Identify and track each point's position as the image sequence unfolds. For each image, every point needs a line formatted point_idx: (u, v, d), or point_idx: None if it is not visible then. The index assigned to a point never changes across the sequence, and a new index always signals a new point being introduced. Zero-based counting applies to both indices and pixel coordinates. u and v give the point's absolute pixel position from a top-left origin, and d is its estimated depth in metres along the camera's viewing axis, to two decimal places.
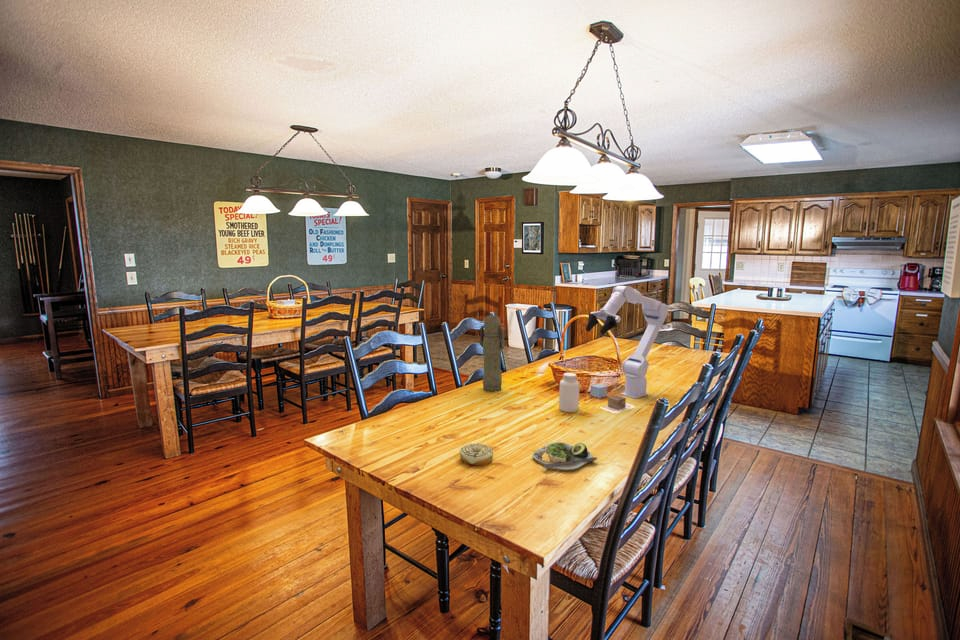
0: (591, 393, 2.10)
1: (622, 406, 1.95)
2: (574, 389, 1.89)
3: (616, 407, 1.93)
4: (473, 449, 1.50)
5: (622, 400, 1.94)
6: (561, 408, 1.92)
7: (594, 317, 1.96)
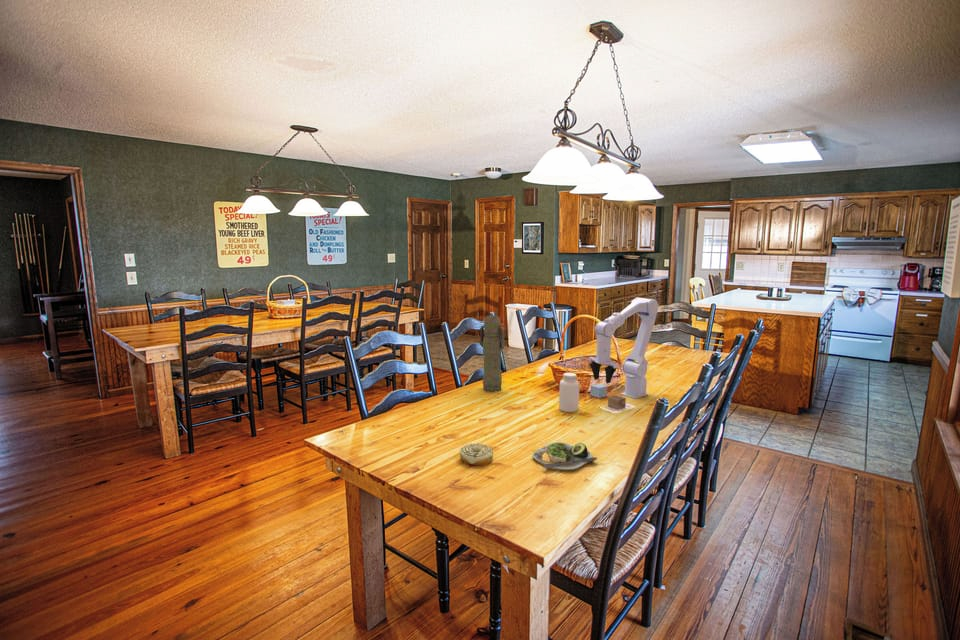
0: (591, 393, 2.10)
1: (622, 406, 1.95)
2: (574, 389, 1.89)
3: (616, 407, 1.93)
4: (473, 449, 1.50)
5: (622, 400, 1.94)
6: (561, 408, 1.92)
7: (595, 365, 2.02)
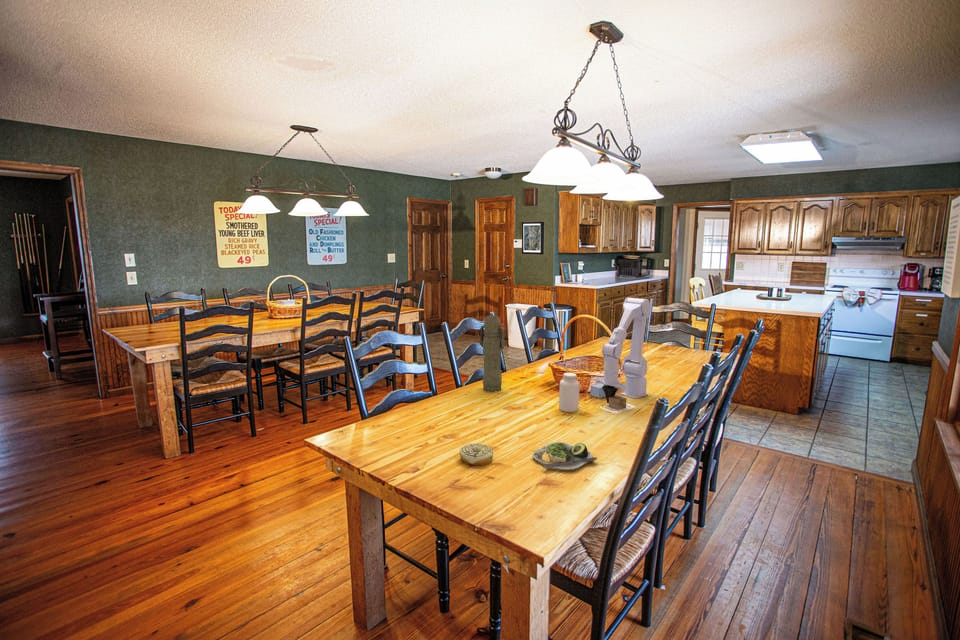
0: (591, 393, 2.10)
1: (623, 406, 1.94)
2: (574, 389, 1.89)
3: (617, 407, 1.93)
4: (473, 449, 1.50)
5: (623, 400, 1.94)
6: (561, 408, 1.92)
7: None
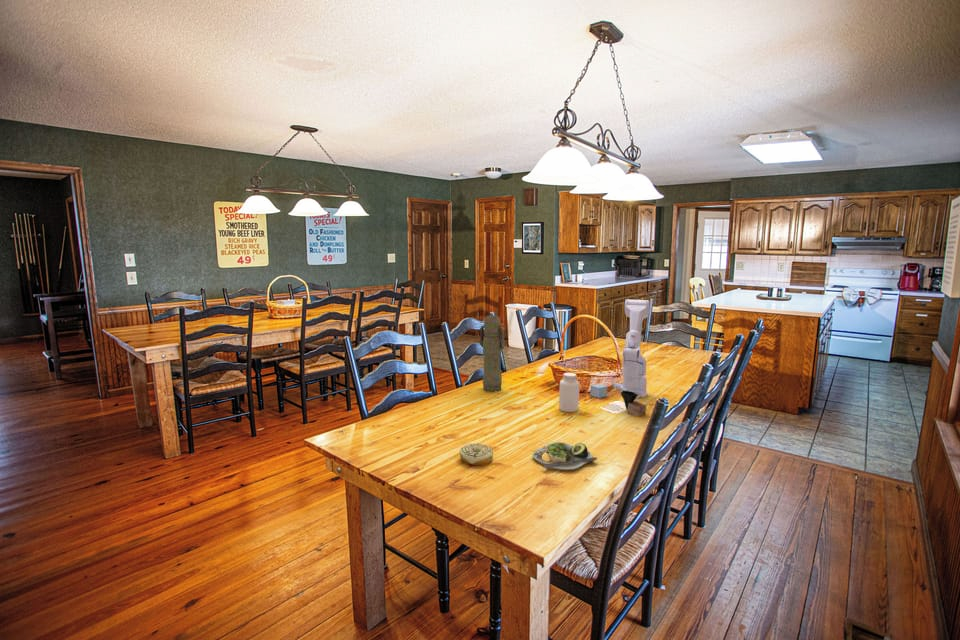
0: (591, 393, 2.10)
1: (642, 413, 1.87)
2: (574, 389, 1.89)
3: (636, 414, 1.85)
4: (473, 449, 1.50)
5: (643, 407, 1.86)
6: (561, 408, 1.92)
7: None
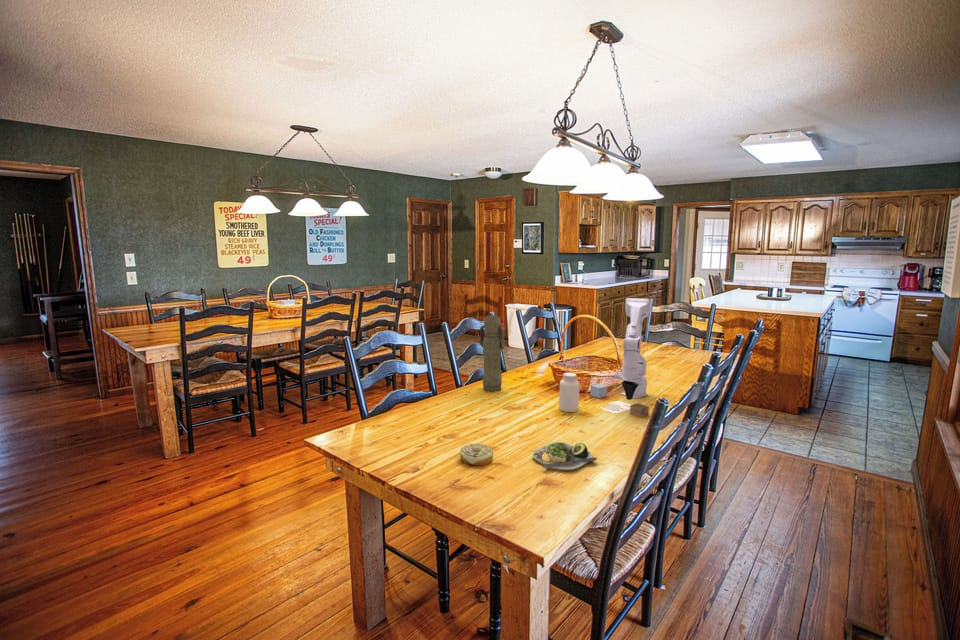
0: (591, 393, 2.10)
1: (645, 415, 1.86)
2: (574, 389, 1.89)
3: (639, 416, 1.84)
4: (473, 449, 1.50)
5: (645, 409, 1.85)
6: (561, 408, 1.92)
7: None
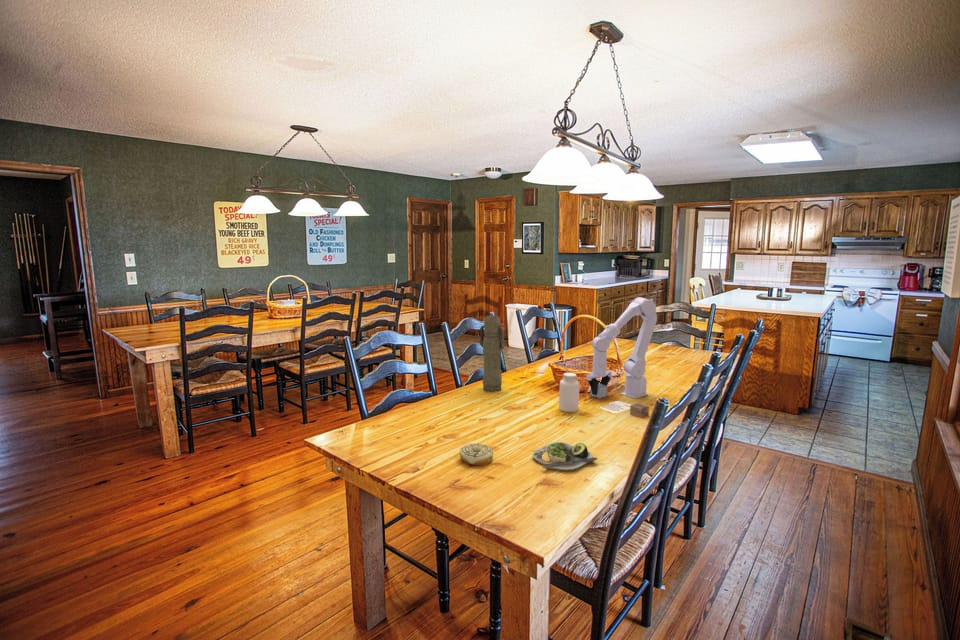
0: (591, 393, 2.10)
1: (645, 415, 1.86)
2: (574, 389, 1.89)
3: (639, 416, 1.84)
4: (473, 449, 1.50)
5: (645, 409, 1.85)
6: (561, 408, 1.92)
7: None
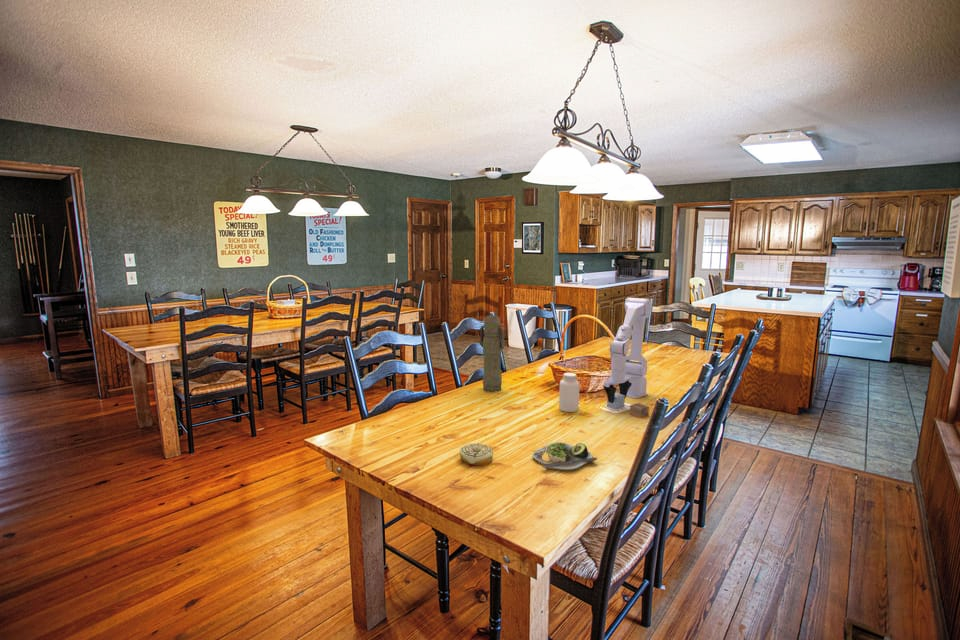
0: (608, 403, 1.97)
1: (645, 415, 1.85)
2: (574, 389, 1.89)
3: (639, 416, 1.84)
4: (473, 449, 1.50)
5: (645, 409, 1.85)
6: (561, 408, 1.92)
7: (621, 383, 1.98)
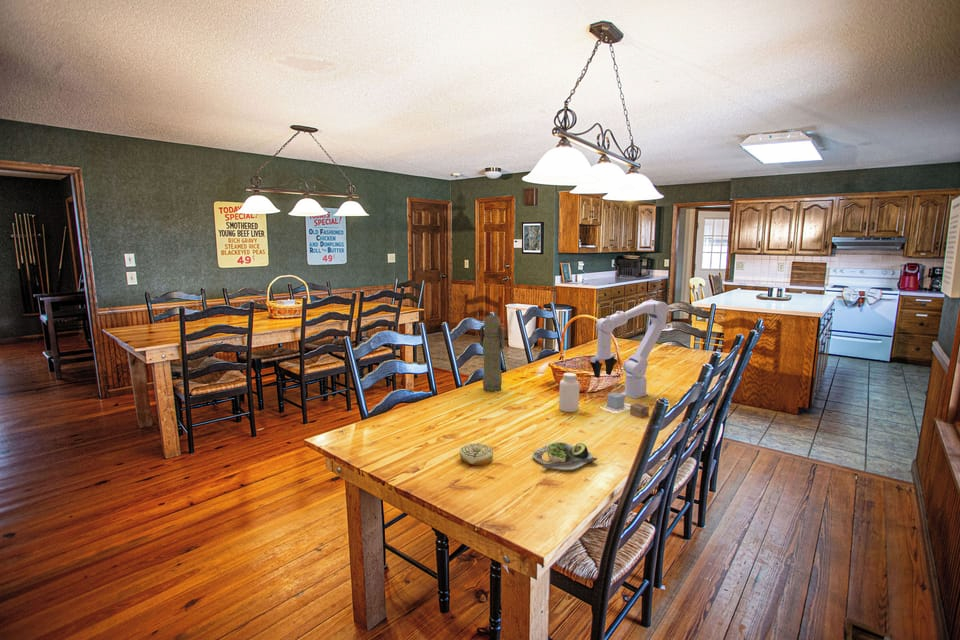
0: (608, 403, 1.97)
1: (645, 415, 1.85)
2: (574, 389, 1.89)
3: (638, 416, 1.84)
4: (473, 449, 1.50)
5: (645, 409, 1.85)
6: (561, 408, 1.92)
7: (607, 360, 2.09)
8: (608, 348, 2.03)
